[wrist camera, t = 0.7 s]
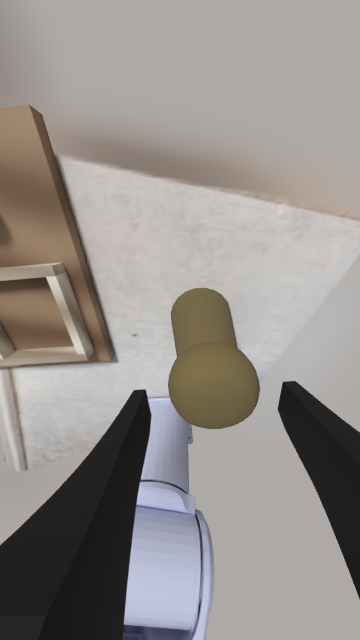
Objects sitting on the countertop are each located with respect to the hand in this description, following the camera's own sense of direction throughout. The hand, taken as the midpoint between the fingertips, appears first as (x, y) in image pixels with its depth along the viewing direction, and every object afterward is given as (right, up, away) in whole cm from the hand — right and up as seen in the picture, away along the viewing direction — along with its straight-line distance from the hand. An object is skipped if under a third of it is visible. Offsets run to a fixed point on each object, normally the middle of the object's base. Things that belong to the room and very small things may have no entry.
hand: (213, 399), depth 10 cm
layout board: (-18, +9, +8) cm, 22 cm away
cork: (0, +5, +9) cm, 11 cm away
